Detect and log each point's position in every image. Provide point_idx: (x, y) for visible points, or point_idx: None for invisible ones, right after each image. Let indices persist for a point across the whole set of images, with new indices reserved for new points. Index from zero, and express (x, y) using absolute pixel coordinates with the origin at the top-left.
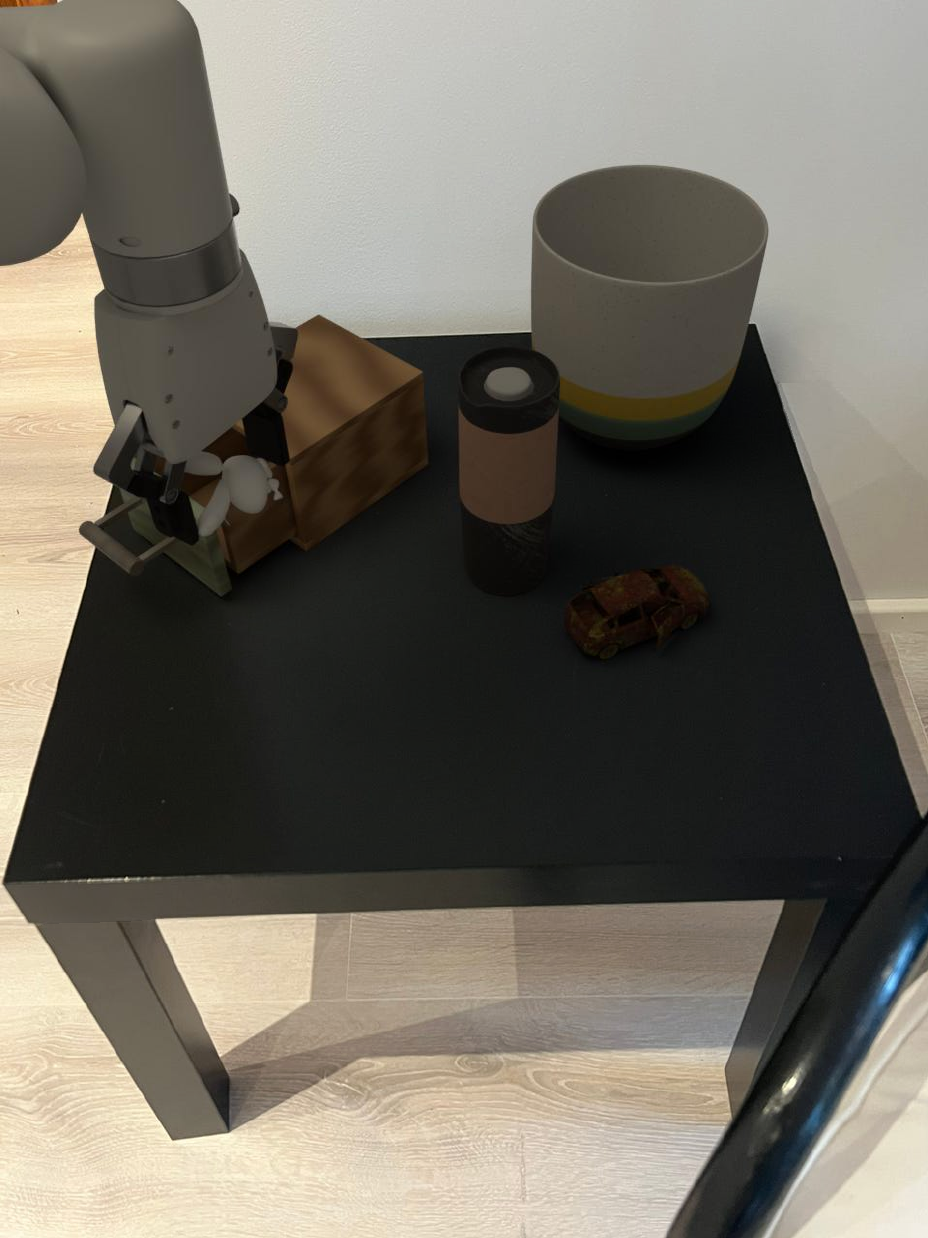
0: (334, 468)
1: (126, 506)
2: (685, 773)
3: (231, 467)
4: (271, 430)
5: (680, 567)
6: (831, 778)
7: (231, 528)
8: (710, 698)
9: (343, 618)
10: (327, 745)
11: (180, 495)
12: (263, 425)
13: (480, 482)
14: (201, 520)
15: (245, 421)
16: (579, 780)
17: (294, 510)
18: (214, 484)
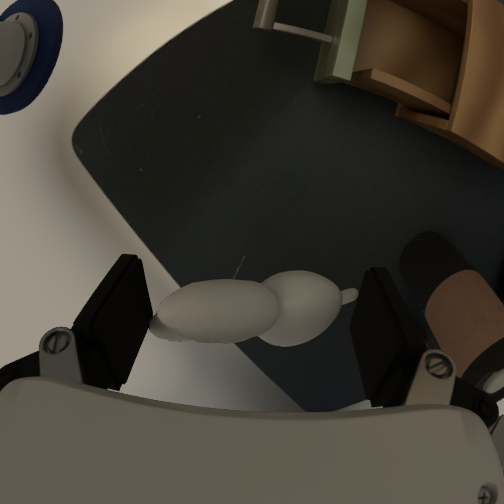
0: (464, 143)
1: None
2: (313, 372)
3: (280, 324)
4: (365, 379)
5: (427, 346)
6: (332, 399)
7: (362, 81)
8: (358, 366)
9: (344, 180)
10: (236, 233)
11: (110, 384)
12: (373, 369)
13: (443, 326)
14: (159, 331)
15: (385, 328)
16: (289, 346)
17: (416, 113)
18: (414, 16)
